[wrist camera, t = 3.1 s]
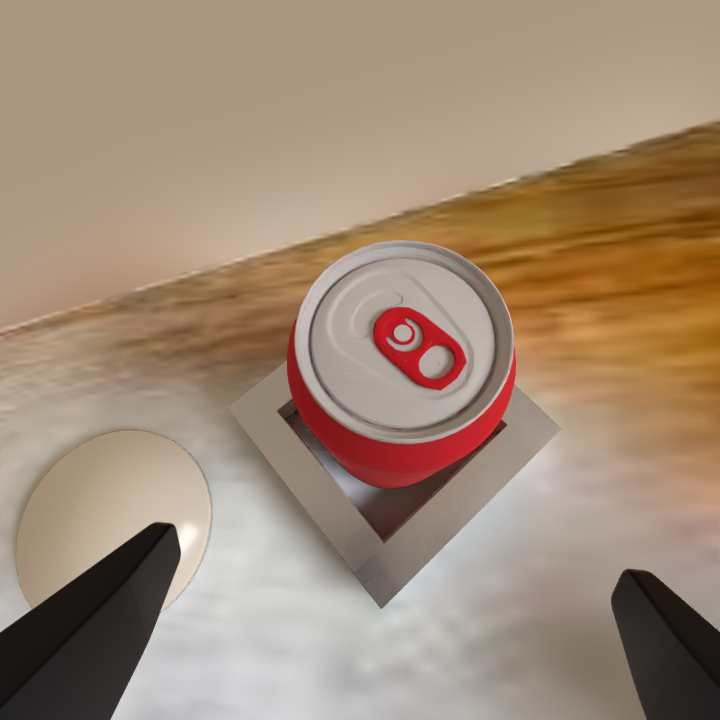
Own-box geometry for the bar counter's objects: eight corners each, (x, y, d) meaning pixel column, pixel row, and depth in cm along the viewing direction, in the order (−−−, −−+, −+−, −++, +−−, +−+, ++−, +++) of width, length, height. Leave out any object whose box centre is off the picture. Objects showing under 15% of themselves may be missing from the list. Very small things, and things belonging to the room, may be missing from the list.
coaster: (80, 684, 18) (70, 690, 17) (-4, 515, 20) (-15, 515, 19) (249, 535, 19) (245, 536, 19) (152, 397, 22) (146, 394, 21)
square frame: (380, 598, 18) (381, 609, 16) (240, 416, 21) (226, 407, 19) (544, 435, 20) (561, 428, 18) (395, 291, 23) (396, 273, 22)
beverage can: (386, 346, 22) (396, 181, 11) (475, 423, 21) (594, 324, 9) (303, 428, 21) (217, 336, 10) (392, 518, 19) (414, 533, 8)
